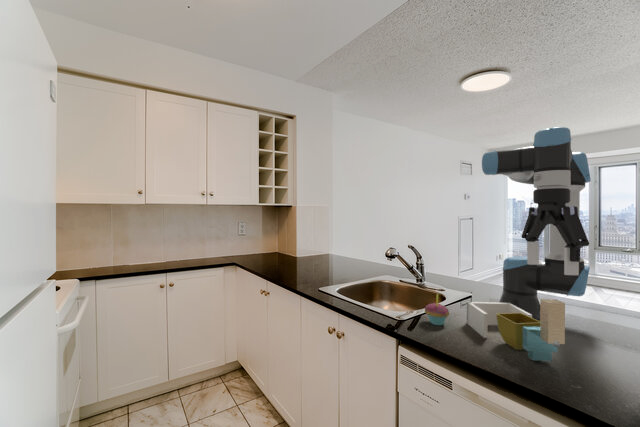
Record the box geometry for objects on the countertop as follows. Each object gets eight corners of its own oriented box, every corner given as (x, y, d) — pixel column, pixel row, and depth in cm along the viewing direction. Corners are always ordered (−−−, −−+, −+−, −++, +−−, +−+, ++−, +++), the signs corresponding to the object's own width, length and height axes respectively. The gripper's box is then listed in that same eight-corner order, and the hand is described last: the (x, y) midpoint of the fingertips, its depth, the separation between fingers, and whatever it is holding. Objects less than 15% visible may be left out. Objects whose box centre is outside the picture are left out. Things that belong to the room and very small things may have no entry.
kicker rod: (552, 357, 80) (552, 295, 80) (572, 371, 73) (573, 303, 73) (522, 356, 81) (522, 294, 81) (539, 370, 74) (540, 302, 74)
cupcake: (451, 328, 103) (451, 295, 102) (426, 326, 104) (426, 293, 104) (445, 319, 111) (446, 288, 111) (422, 317, 113) (423, 287, 113)
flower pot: (495, 340, 93) (495, 313, 93) (520, 339, 94) (520, 312, 94) (515, 354, 84) (516, 323, 84) (543, 352, 85) (543, 322, 85)
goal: (509, 324, 106) (509, 302, 106) (531, 339, 94) (532, 314, 94) (466, 323, 107) (466, 301, 107) (483, 337, 95) (483, 313, 95)
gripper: (508, 191, 88) (507, 260, 88) (575, 183, 63) (574, 280, 63) (534, 191, 87) (533, 261, 87) (611, 183, 62) (610, 280, 62)
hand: (550, 269), depth 75 cm, fingers open, 13 cm apart
